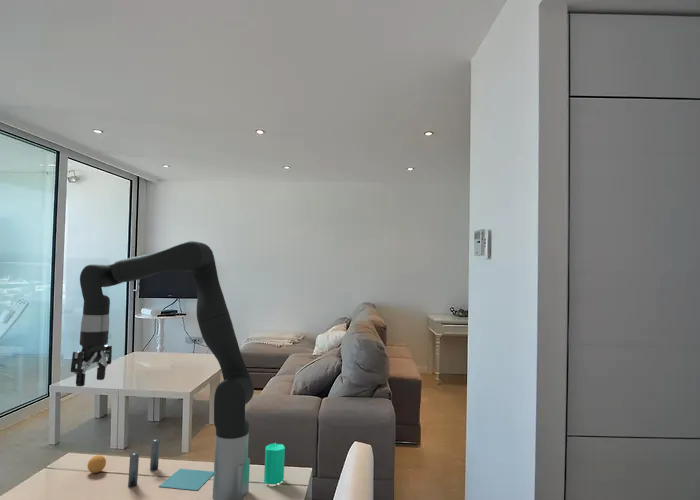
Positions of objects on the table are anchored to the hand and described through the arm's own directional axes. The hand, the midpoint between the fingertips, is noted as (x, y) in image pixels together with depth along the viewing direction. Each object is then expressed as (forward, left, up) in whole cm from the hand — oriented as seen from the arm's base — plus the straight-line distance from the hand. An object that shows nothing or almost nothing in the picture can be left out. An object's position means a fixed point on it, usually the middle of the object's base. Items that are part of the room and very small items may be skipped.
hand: (90, 382), depth 131 cm
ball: (0, -5, -26) cm, 27 cm away
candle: (-56, -10, -29) cm, 64 cm away
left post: (-16, 0, -29) cm, 33 cm away
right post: (-16, -11, -29) cm, 35 cm away
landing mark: (-30, -6, -29) cm, 42 cm away
